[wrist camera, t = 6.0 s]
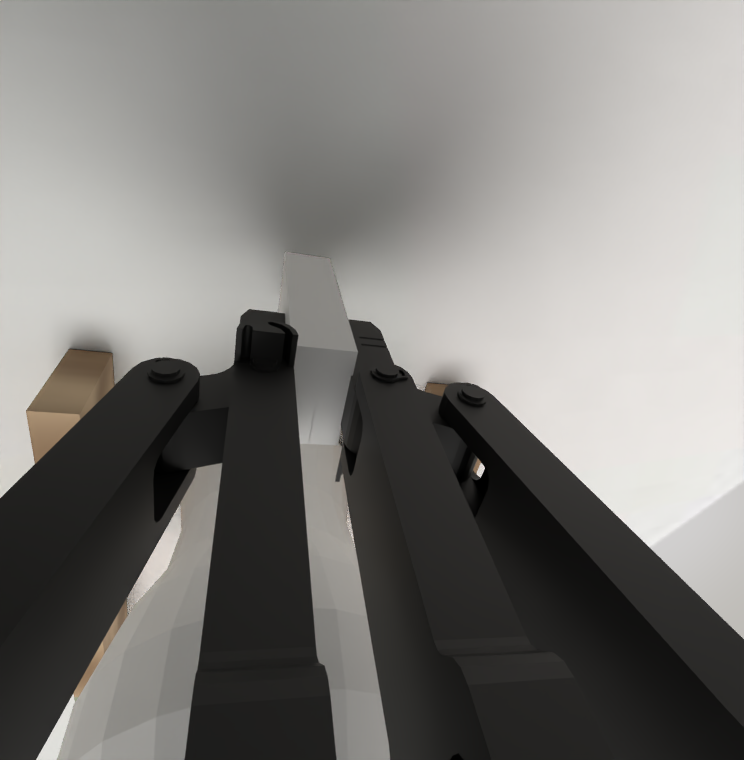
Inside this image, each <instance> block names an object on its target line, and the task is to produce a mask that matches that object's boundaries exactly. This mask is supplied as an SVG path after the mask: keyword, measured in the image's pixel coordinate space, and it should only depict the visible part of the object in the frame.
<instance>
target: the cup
mask: <svg viewBox="0 0 744 760" xmlns="http://www.w3.org/2000/svg"><path fill="white" fill-rule="evenodd" d="M300 450H301V463H302V475H303V488H304V501H305V513H306V526H307V539H308V551H309V564H310V577H311V589H312V602H313V615H314V627H315V640H316V650H317V657H318V661H319V663H321V664H323V665H324V666H325V669H326V672H327V675H328V682H329V689H330V696H331V707H332V717H333V728H334V738H335V749H336V759H337V760H390V751H389V743H388V737H387V731H386V725H385V719H384V713H383V707H382V701H381V695H380V689H379V684H378V678H377V672H376V666H375V660H374V654H373V648H372V642H371V636H370V630H369V625H368V619H367V613H366V607H365V601H364V595H363V589H362V583H361V577H360V572H359V566H358V560H357V554H356V549H355V546H354V543H353V540H352V537H351V535H350V532H349V529H348V526H347V523H346V522H347V495H346V489H345V483H344V477H343V474H342V475H341V478H340V482H335V479H336V473H337V468H338V464H339V459H340V455H341V450H342V447H341V445H340V444H339V443H338V446H336V445H317V444H300ZM221 470H222V463H220V464H214V465H209V466H204V467H198V468H197V470H196V474H195V478H194V479H193V481H192V483H191V485H190V486H189V488H188V490H187V492H186V494H185V495H184V497H183V499H182V501H181V502H180V505H181V534H180V536H179V539H178V542H177V545H176V547H175V550H174V553H173V555H172V558H171V561H170V564H169V566H168V569H167V570H166V571H165V572H164V574H163V575H162V576H161V577H160V578H159V579H158V580H157V581H156V582H155V583H154V585H153V586H152V587H151V588H150V589H149V590H148V591H147V592H146V593H145V595H144V596H143V597H142V598H141V599H140V600H139V601H138V602H137V603H136V605H135V606H134V607H133V608H132V610H131V611H130V613H129V614H128V616H127V618H126V619H125V621H124V622H123V624H122V625H121V627H120V629H119V630H118V632H117V634H116V635H115V637H114V639H113V640H112V642H111V644H110V645H109V647H108V649H107V650H106V652H105V654H104V655H103V657H102V659H101V660H100V662H99V664H98V665H97V667H96V669H95V670H94V672H93V674H92V675H91V677H90V679H89V680H88V682H87V684H86V685H85V687H84V689H83V690H82V692H81V694H80V695H79V697H78V699H77V700H76V702H75V704H74V706H73V709H72V713H71V716H70V719H69V722H68V726H67V729H66V732H65V735H64V739H63V742H62V745H61V748H60V751H59V755H58V758H57V760H184V759H185V751H186V743H187V735H188V727H189V719H190V711H191V703H192V695H193V687H194V681H195V675H196V672H197V668H198V662H199V654H200V646H201V637H202V629H203V621H204V612H205V604H206V595H207V587H208V579H209V570H210V562H211V553H212V545H213V537H214V528H215V520H216V511H217V503H218V495H219V486H220V478H221Z"/></svg>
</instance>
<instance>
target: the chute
mask: <svg viewBox="0 0 744 760" xmlns="http://www.w3.org/2000/svg"><path fill="white" fill-rule="evenodd" d="M447 386H448V385H446V384H435V383H427V386H426V389H425V392H428V393H432V394H435V395H439V396H443V393H444V390H445V387H447ZM113 387H114V372H113V355H112V353H105V352H94V351H84V350H73V349H69V350H68V351H67V353H66V354H65V356H64V357H63V358H62V360H61V361H60V363H59V364H58V366H57V367H56V369H55V370H54V371H53V373H52V374H51V376H50V377H49V379H48V380H47V382H46V383H45V384H44V386H43V387H42V389H41V390H40V392H39V393H38V395H37V396H36V397H35V399H34V400H33V402H32V403H31V405H30V406H29V408H28V409H27V410H26V413H27V419H28V425H29V431H30V437H31V443H32V449H33V455H34V461H35V464H36V463H37V462H38V461H39V460H40V459H41V458H42V457H43V456H44V455H45V454H46V453H47V452H48V451H49V450H50V449H51V448H52V447H53V446H54V445H55V444H56V443H57V442H58V441H59V440H60V439H61V438H62V437H63V436H64V435H65V434H66V433H67V432H68V431H69V430H70V429H71V428H72V427H73V426H74V425H75V424H76V423H77V422H78V421H79V420H80V419H81V418H82V417H83V416H84V415H85V414H87V413H88V412H89V411H90V410H91V409H92V408H93V407H94V406H95V405H96V404H97V403H98V402H99V401H100V400H101V399H102V398H103V397H104V396H105V395H106V394H107V393H108V392H109V391H110V390H111V389H112V388H113ZM480 463H481V461H480V460H479V459H477V462H476V464H475V467H474V469H473V471H474V472H475V473H477V470H478V468H479V465H480ZM126 618H127V599H126V600H125V602H124V604H123V606H122V607H121V609H120V611H119V613H118V615H117V616H116V618H115V620H114V622H113V623H112V625H111V627H110V629H109V631H108V632H107V634H106V636H105V638H104V639H103V641H102V643H101V645H100V647H99V648H98V650H97V652H96V654H95V655H94V657H93V659H92V661H91V663H90V664H89V666H88V668H87V670H86V671H85V673H84V675H83V677H82V679H81V680H80V682H79V684H78V686H77V687H76V689H75V691H74V699H75V702H76V700H77V699H78V697H79V695H80V694H81V692H82V690H83V689H84V687H85V685H86V684H87V682H88V680H89V679H90V677H91V675H92V674H93V672H94V670H95V669H96V667H97V665H98V664H99V662H100V660H101V659H102V657H103V655H104V654H105V652H106V650H107V649H108V647H109V645H110V644H111V642H112V640H113V639H114V637H115V635H116V634H117V632H118V630H119V629H120V627H121V625H122V624H123V622H124V621H125V619H126Z"/></svg>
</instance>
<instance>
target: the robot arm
mask: <svg viewBox="0 0 744 760" xmlns="http://www.w3.org/2000/svg"><path fill="white" fill-rule="evenodd" d="M341 429H342V434H343V439H344V441H343V446H342V450H341V455H340V459H339V464H338V468H337V473H336V479H335V482H340V478H341V475H342V474H343V477H344V483H345V489H346V495H347V501H348V507H349V513H350V519H351V524H352V530H353V536H354V542H355V548H356V554H357V560H358V566H359V572H360V577H361V583H362V589H363V595H364V601H365V607H366V613H367V619H368V625H369V630H370V636H371V642H372V648H373V654H374V660H375V666H376V672H377V678H378V684H379V689H380V695H381V701H382V707H383V713H384V719H385V725H386V731H387V737H388V743H389V751H390V760H744V639H743V638H742V637H741V636H740V635H739V634H738V633H737V632H736V631H735V630H734V629H732V627H730V626H729V625H728V624H727V623H726V622H725V621H724V620H723V619H722V618H721V617H720V616H719V615H718V614H717V613H716V612H715V611H714V610H713V609H712V608H711V607H710V606H709V605H708V604H707V603H706V602H705V601H704V600H703V599H701V597H700V596H699V595H698V594H697V593H696V592H695V591H693V590H692V589H691V588H690V587H689V586H688V585H687V584H686V583H685V582H684V581H683V580H682V579H681V578H680V577H679V576H678V575H677V574H676V573H675V572H674V571H673V570H672V569H671V568H670V567H669V566H668V565H667V564H666V563H665V562H663V560H662V559H661V558H660V557H659V556H657V555H656V554H655V553H654V552H653V551H652V550H651V549H650V548H649V547H648V546H647V545H646V544H645V543H644V542H643V541H642V540H641V539H640V538H639V537H638V536H637V535H636V534H635V533H634V532H633V531H632V530H631V529H630V528H629V527H628V526H627V525H626V524H625V523H624V522H623V521H622V520H621V519H619V518H618V517H617V516H616V515H615V514H614V513H613V512H612V511H611V510H610V509H609V508H608V507H607V506H606V505H605V504H604V503H603V502H602V501H601V500H600V499H599V498H598V497H597V496H596V495H595V494H594V493H593V492H592V491H591V490H590V489H589V488H588V487H587V486H586V485H585V484H584V483H582V482H581V481H580V480H579V479H578V478H577V477H576V476H575V475H574V474H573V473H572V472H571V471H570V470H569V469H568V468H567V467H566V466H565V465H564V464H563V463H562V462H561V461H560V460H559V459H558V458H557V457H556V456H555V455H554V454H553V453H552V452H551V451H550V450H549V449H548V448H547V447H545V446H544V445H543V444H542V443H541V442H540V441H539V440H538V439H537V438H536V437H535V436H534V435H533V434H532V433H531V432H530V431H529V430H528V429H527V428H526V427H525V426H524V425H523V424H522V423H521V422H520V421H519V420H518V419H517V418H516V417H515V416H514V415H513V414H512V413H511V412H509V411H508V410H507V409H506V408H505V407H504V406H503V405H502V404H501V403H500V402H499V401H498V400H497V399H496V398H495V397H494V396H493V395H492V394H490V393H489V392H488V391H486V390H484V389H482V388H480V387H479V386H477V385H474V384H472V385H471V384H470V383H452V384H449V385H448V386H447V387H445V390H444V393H443V396H439V395H435V394H432V393H428V392H425V391H422V390H419V389H417V388H416V385H415V383H414V381H413V379H412V377H411V376H410V374H409V373H408V372H407V371H405V370H404V369H403V368H401V367H399V366H396V365H394V363H393V360H392V358H391V356H390V353H389V351H388V348H387V346H386V343H385V341H384V338H383V336H382V333H381V331H380V330H379V329H378V328H377V327H376V326H374V325H373V324H372V323H371V322H365V321H357V320H348V317H347V314H346V310H345V307H344V304H343V300H342V297H341V294H340V290H339V287H338V284H337V280H336V277H335V274H334V270H333V267H332V264H331V260H330V258H325V257H319V256H312V255H305V254H298V253H291V252H285V256H284V264H283V273H282V281H281V290H280V298H279V307H278V313H277V312H269V311H260V310H251V309H249V310H248V311H247V312H245V313H244V314H243V315H242V316H241V319H240V324H239V326H238V327H237V333H236V346H235V360H234V365H233V366H232V367H231V368H229V369H227V370H226V371H224V372H221V373H218V374H212V375H205V376H200V373H199V371H198V369H197V368H196V367H195V366H193V365H192V364H191V363H189V362H186V361H183V360H180V359H172V358H155V359H151V360H147V361H144V362H141V363H139V364H138V365H136V366H135V367H133V368H132V369H131V370H130V371H129V372H128V373H127V374H126V375H125V376H124V377H123V378H122V379H121V380H120V381H119V382H118V383H117V384H116V385H115V386H114V387H113V388H112V389H111V390H110V391H109V392H108V393H107V394H106V395H105V396H104V397H103V398H102V399H101V400H100V401H99V402H98V403H97V404H96V405H95V406H94V407H93V408H92V409H91V410H90V411H89V412H88V413H87V414H85V415H84V416H83V417H82V418H81V419H80V420H79V421H78V422H77V423H76V424H75V425H74V426H73V427H72V428H71V429H70V430H69V431H68V432H67V433H66V434H65V435H64V436H63V437H62V438H61V439H60V440H59V441H58V442H57V443H56V444H55V445H54V446H53V447H52V448H51V449H50V450H49V451H48V452H47V453H46V454H45V455H44V456H43V457H42V458H41V459H40V460H39V461H38V462H37V463H36V464H35V465H34V466H33V467H32V468H31V469H30V470H29V471H28V472H27V473H26V474H25V475H24V476H22V477H21V478H20V479H19V480H18V481H17V482H16V483H15V484H14V485H13V486H12V487H11V488H10V489H9V490H8V491H7V492H6V493H5V494H4V495H3V496H2V497H1V498H0V760H36V759H37V757H38V755H39V753H40V752H41V750H42V748H43V746H44V744H45V743H46V741H47V739H48V737H49V736H50V734H51V732H52V730H53V728H54V727H55V725H56V723H57V721H58V719H59V718H60V716H61V714H62V712H63V711H64V709H65V707H66V705H67V703H68V702H69V700H70V698H71V696H72V695H73V693H74V691H75V689H76V687H77V686H78V684H79V682H80V680H81V679H82V677H83V675H84V673H85V671H86V670H87V668H88V666H89V664H90V663H91V661H92V659H93V657H94V655H95V654H96V652H97V650H98V648H99V647H100V645H101V643H102V641H103V639H104V638H105V636H106V634H107V632H108V631H109V629H110V627H111V625H112V623H113V622H114V620H115V618H116V616H117V615H118V613H119V611H120V609H121V607H122V606H123V604H124V602H125V600H126V599H127V597H128V595H129V593H130V591H131V590H132V588H133V586H134V584H135V583H136V581H137V579H138V577H139V575H140V574H141V572H142V570H143V568H144V566H145V565H146V563H147V561H148V559H149V558H150V556H151V554H152V552H153V550H154V549H155V547H156V545H157V543H158V542H159V540H160V538H161V536H162V534H163V533H164V531H165V529H166V527H167V526H168V524H169V522H170V520H171V518H172V517H173V515H174V513H175V511H176V510H177V508H178V506H179V504H180V502H181V501H182V499H183V497H184V495H185V494H186V492H187V490H188V488H189V486H190V485H191V483H192V481H193V479H194V478H195V474H196V470H197V468H198V467H204V466H209V465H214V464H220V463H222V470H221V478H220V486H219V495H218V503H217V511H216V520H215V528H214V537H213V545H212V553H211V562H210V570H209V579H208V587H207V595H206V604H205V612H204V621H203V629H202V637H201V646H200V654H199V662H198V668H197V672H196V675H195V681H194V687H193V695H192V703H191V711H190V719H189V727H188V735H187V743H186V751H185V759H184V760H337V759H336V749H335V738H334V728H333V717H332V707H331V696H330V689H329V682H328V675H327V672H326V669H325V666H324V665H323V664H321V663H319V661H318V657H317V650H316V640H315V627H314V615H313V602H312V589H311V577H310V564H309V551H308V539H307V526H306V513H305V501H304V488H303V475H302V463H301V450H300V444H317V445H336V446H338V443H339V438H340V433H341ZM477 459H479V460H480V461H481V463H482V464H483V465H484V467H485V470H484V472H483V475H482V476H481V478H480V477H479V476H477V474H476V473H475V472H474V471H473V469H474V467H475V464H476V462H477Z"/></svg>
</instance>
